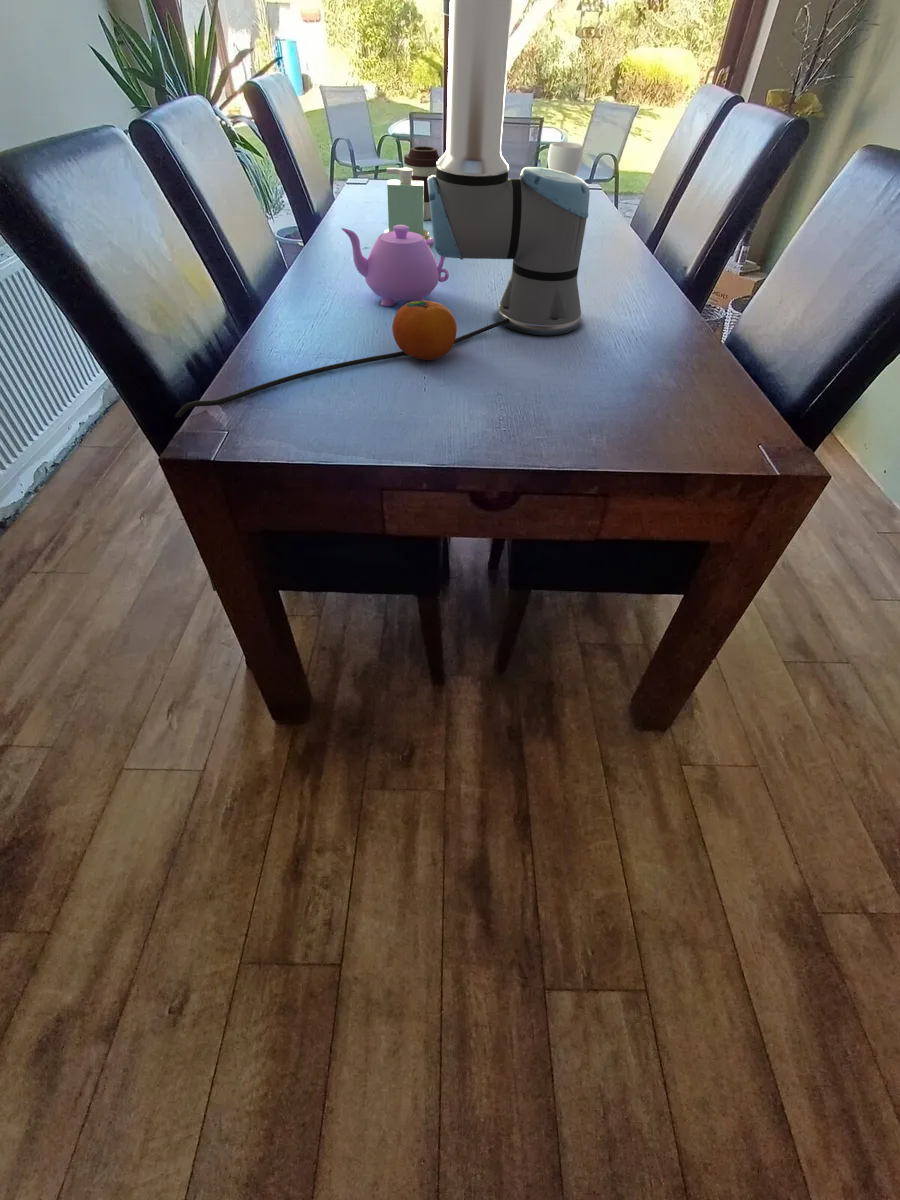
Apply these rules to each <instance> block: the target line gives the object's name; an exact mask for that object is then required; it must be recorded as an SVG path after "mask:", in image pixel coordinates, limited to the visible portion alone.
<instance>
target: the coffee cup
mask: <svg viewBox="0 0 900 1200" xmlns="http://www.w3.org/2000/svg"><path fill="white" fill-rule="evenodd" d="M442 156H443V155H442V154H440V153H439V151H438V149H437V147H432V146H423V145H422V146H413V147H411V148H410V149H409V151H408V153H406V154H404V155H403V162H404V164H405V165H406V168H412V169H413V176H411V181H424V221H430V220H431V211H430V201H429V191H428V181H427V180H428V177H431V176H432V175H435V176H436V166H437V162H438V160H439V159H440V158H441V157H442ZM431 221H432V220H431Z"/></svg>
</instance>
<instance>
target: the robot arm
mask: <svg viewBox="0 0 900 1200" xmlns="http://www.w3.org/2000/svg"><path fill="white" fill-rule="evenodd" d="M512 5H513V0H442V9H441V10H442V14H443V15H444V16H449V21H448V22H449V25H448V26H449V27H448V30H449V31H448V65H447V67H448V69H447V71H448V72H447V107H446V144H445V145H446V150H445V152H444V153H443V155H441V156H442V157H441V158H440V159H439V160H438V162H437V166H436V176H435V175H432V176H431V177H428V180H427V181H428V191H429V201H430V211H431V229H432V238H433V239H434V244H433V247H434V250H435V252H436V254H438V256H440V257H441V256H442V257H445V258H451V259H459V260H461V261H462V260H464V259H475V260H479V259H480V260H481V259H482V260H484V259H485V260H512V267H511V274H510V277H509V280H508V282H507V285H506V287H505V289H504V292H503V294H502V297H501V300H500V302H499V304H498V313H497V319H498V321H496V322H494V323H491V324H489V325H486V326H483V327H480V328H479V329H476V330H474V331H471V332H468V333H466V334H463V335H461V336H458V337H456V339H455V342H454V345H455V344H458V343H460V342H463V341H465V340H468V339H470V338H473V337H475V336H477V335H480V334H483V333H485V332H487V331H490V330H492V329H495V328H498V327H501V326H504V327H506V328H508V329H510V330H512V331H514V332H518V333H522V334H527V335H534V336H559V335H564V334H568V333H571V332H573V331H575V330H577V329H578V327H579V326H580V323H581V317H582V309H581V308H582V307H581V300H580V294H579V293H580V292H579V285H578V273H579V267H580V262H581V261H580V260H581V255H582V249H583V244H584V243H583V242H584V237H585V231H586V226H587V225H586V224H587V220H588V218H589V208H590V207H589V206H590V205H589V204H590V193H591V192H590V188H589V185H588V183H586V181H585V180H583V179H582V178H580V177H578V176H577V175H576V176H573V175H570V174H567V173H564V172H561V171H557V170H552V169H549V168H548V167H547V168H546V167H540V166H533V167H532V166H526V167H523V168H522V169H521V172H520V174H519V178H509V173H510V165H509V164H508V162H507V161H506V160H505V158H504V157H503V155H502V138H503V124H504V113H505V99H506V86H507V73H508V72H507V71H508V59H509V45H510V33H511V32H510V31H511V18H512ZM406 356H409V355H408V354H406V353H404V352H403V351H402V350H400V351H396V352H392V353H387V354H386V353H385V354H379V355H374V356H368V357H362V358H357V359H353V360H348V361H344V362H338V363H334V364H329V365H325V366H320V367H316V368H312V369H308V370H304V371H301V372H298V373H294V374H290V375H287V376H284V377H281V378H278V379H275V380H274V379H273V380H271V381H268V382H264V383H262V384H261V383H260V384H259V385H256V386H253V387H250V388H248V389H245V390H242V391H239V392H236V393H233V394H231V395H228V396H225V397H221V398H217V399H209V400H195V401H194V400H193V401H190V402H187V403H185V404H184V405H183V406H181V408H179V410H178V411H177V412H176V413H175V416H174V418H178V419H179V418H182V417H183V415H185V413H186V412H188V410H190V409H193V408H198V407H212V406H220V405H223V404H227V403H230V402H233V401H235V400H238V399H241V398H244V397H246V396H249V395H252V394H254V393H258V392H260V391H264V390H267V389H269V388H272V387H276V386H278V385H282V384H285V383H289V382H291V381H295V380H299V379H302V378H306V377H309V376H313V375H316V374H322V373H325V372H329V371H333V370H338V369H343V368H347V367H352V366H357V365H362V364H368V363H372V362H373V363H374V362H377V361H384V360H389V359H395V358H400V357H406ZM205 568H206V571H207V575H208V578H209V581H210V584H211V587H212V588H211V589H212V591H214V592H217V591H218V590H216V588H215V585H214V583H213V581H212V579H211V577H210V574H209V572H208V569H207V567H206V566H205Z"/></svg>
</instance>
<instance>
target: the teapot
mask: <svg viewBox="0 0 900 1200" xmlns="http://www.w3.org/2000/svg"><path fill="white" fill-rule="evenodd" d="M340 229H341V230H342V231H343V232H344V233H345V234H346V235H347V237H348V238H349V240H350V243H351V249H352V257H353V262H354V263H353V264H354V266H355V268H356V270H357V272H358V273H359V274H360V275H361V276H362V277H364V279H365V283H366V284H367V286H368V288H369V289H370V290H371V291H372V292H373V293H374V294H375V295H377V297H378V296H379V297H381V298H382V300H381V304H380V305H381V306H384V307H392V306H394V305H395V301H411V302H412V301H423V300H425V299H424V298H425V297H427V296H429V295H430V294H431V293H432V292H433V291H434V290H435V289H436V287H437V286H438V283H439V282H440V283H444V282H447V281H448V280H449V277H450V273H449V270H448V269H447V268H443V267H444V263H445V260H446V257H442V256H440V257H439V262H438V264H437V261H436V258H435V256H434V253H433V252H432V249H431V245H434V239H433V237H432V238H431V239H429V240H427V241H426V240H425V239H424V237H423V236H422V235H420V234H418V233H414V232H408V230H409V227H408V226H406V225H396V226H394V227H393V229H394V231H392V232H386V233H384V232H383V233H381V234H380V235H379V236H378V237H377V238H376V240H375V241H374V244H373V246H372V248H371V250H370V252H369V255H368V257H367V258H366V257H365V256H364V254H363V252H362V249H361V242H360V238H359V236H358V234H357V233H356V232H355V231H354V230H352V229H348V228H344V227H341V228H340ZM428 245H430V246H428ZM442 273H444V276H442Z"/></svg>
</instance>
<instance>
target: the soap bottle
mask: <svg viewBox="0 0 900 1200" xmlns="http://www.w3.org/2000/svg"><path fill="white" fill-rule="evenodd" d="M386 175H398V176H399V179H388V180H387V184H386V185H387V186H386V187H387V218H388V219H387V220H388V221H387V222H388V228H387V229H386V230H384V232H383V233H386V232H392V231H394V229H393V227H394V226H396V225H406V226H408V227H409V230H408V232H414V233H418V234H420V235H422V236H423V237H424V239H425V240H426V239H428V236H429V232H428V231H427V230H425V228H424V222H425V220H424V181H411V176H413V169H412V168H407V167H386Z"/></svg>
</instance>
